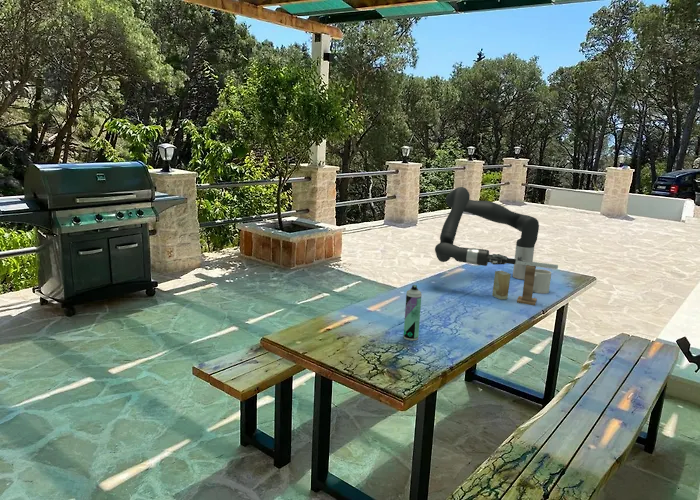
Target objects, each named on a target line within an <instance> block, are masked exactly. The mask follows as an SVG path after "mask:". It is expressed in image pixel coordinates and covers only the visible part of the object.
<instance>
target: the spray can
mask: <svg viewBox="0 0 700 500" xmlns="http://www.w3.org/2000/svg"><path fill="white" fill-rule="evenodd" d="M421 306H422V291H420V290H419V289H418V286H417V284H416V285H415V284H413V285H411V287H410V289H408V290H406V295H405V308H404V324H403V339H404V340H406V341H411V342H412V341H418V339H419V335H420V319H421Z"/></svg>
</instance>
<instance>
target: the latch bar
mask: <svg viewBox="0 0 700 500" xmlns="http://www.w3.org/2000/svg"><path fill="white" fill-rule="evenodd" d="M515 264H522V265H529V266H536V268H537V267H539V268H544V269H545V268H546V269H552V270H558V268H559V265H558V264H552V263H546V262H545V263H544V262H540V261H539V262H537V261H533V262H531V261H523V260H522V257H518V259H517V260H516V263H515Z"/></svg>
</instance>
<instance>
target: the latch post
mask: <svg viewBox="0 0 700 500" xmlns="http://www.w3.org/2000/svg"><path fill="white" fill-rule="evenodd" d="M536 269H537V266H529V265H526V270H525V278H524V281H523V287H522V288H523V289H522V295H519V296H518V297H517V299H516V304H523V305H529V306H536V304H537V301H538V299H537V298H535V297H533V295H534V294H533V293H534V292H533V286H534V278H535V270H536Z"/></svg>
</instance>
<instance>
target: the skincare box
mask: <svg viewBox="0 0 700 500" xmlns="http://www.w3.org/2000/svg"><path fill="white" fill-rule="evenodd" d="M493 278H494V279H493V285H492V293H491V295H492V297H494V298H497V299H499V300H500V301H501V300H507V299H508V298H509V297H508V296H509V289H510V283H511V282H510V281H511V273H509V272H506V271H504V270H495V271H494V277H493Z"/></svg>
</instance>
